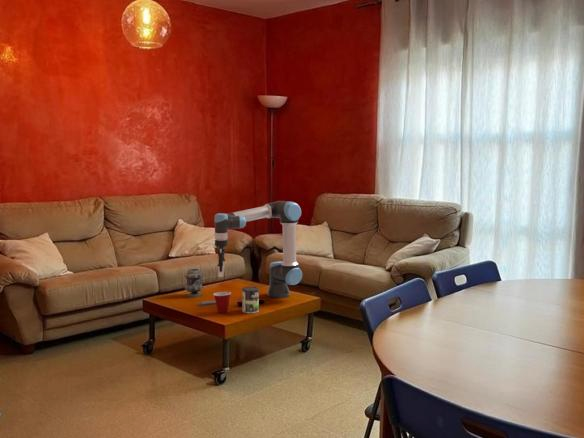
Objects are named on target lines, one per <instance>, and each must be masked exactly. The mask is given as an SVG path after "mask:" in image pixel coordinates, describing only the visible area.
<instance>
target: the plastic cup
mask: <svg viewBox="0 0 584 438" xmlns="http://www.w3.org/2000/svg"><path fill="white" fill-rule="evenodd" d="M231 295H232V292H231V291H219V292H214V293H213V297H214V301H216V310H217V313H218V314H226V313H228V311H229V306H230V298H231Z"/></svg>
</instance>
